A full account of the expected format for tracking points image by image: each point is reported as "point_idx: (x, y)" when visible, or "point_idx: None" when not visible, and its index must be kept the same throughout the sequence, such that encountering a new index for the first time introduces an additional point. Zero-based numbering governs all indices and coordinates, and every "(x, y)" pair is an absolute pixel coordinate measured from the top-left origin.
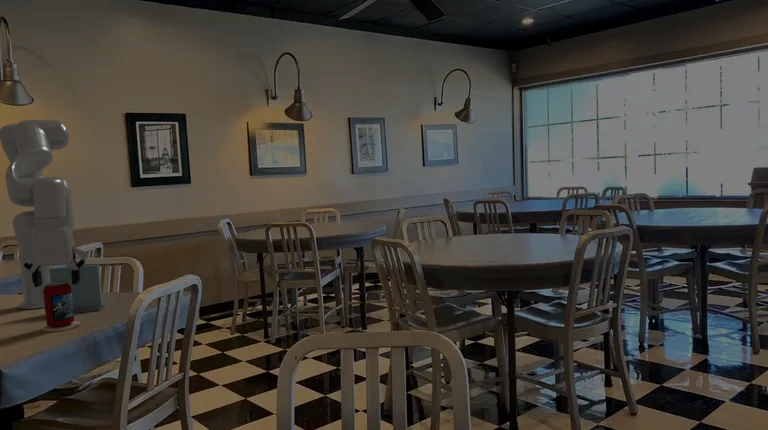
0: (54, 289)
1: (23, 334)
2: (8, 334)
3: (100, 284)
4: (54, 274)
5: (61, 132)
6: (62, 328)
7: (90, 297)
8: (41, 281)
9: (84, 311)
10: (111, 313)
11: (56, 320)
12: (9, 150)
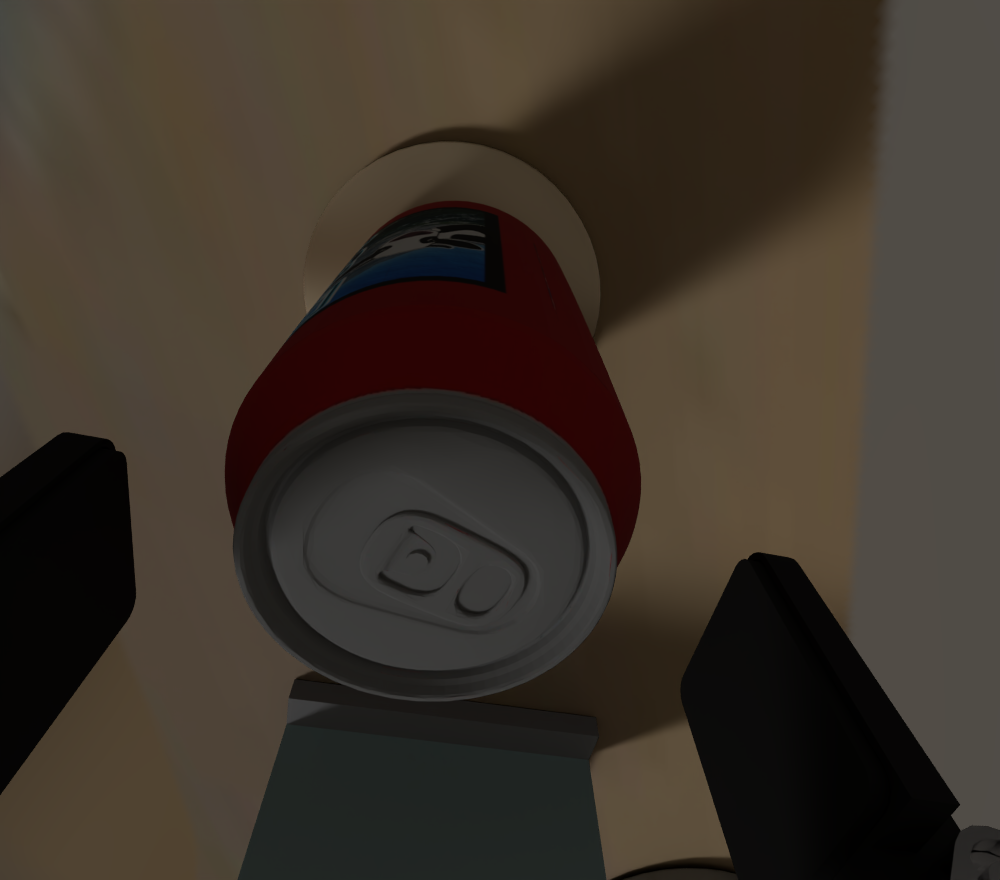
0: (429, 322)
1: (744, 224)
2: (854, 303)
3: None
4: None
5: None
6: (417, 160)
7: (338, 798)
8: (697, 722)
9: None
10: (173, 571)
11: (466, 209)
12: None
